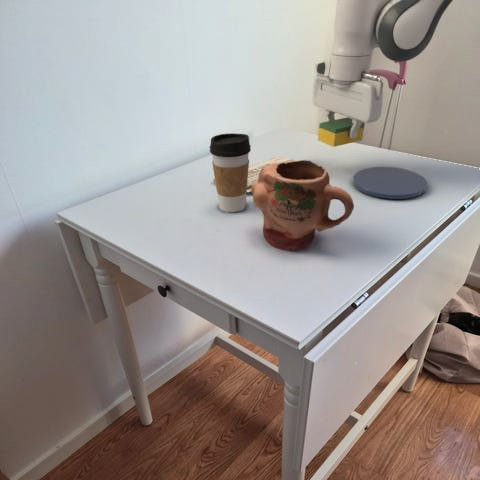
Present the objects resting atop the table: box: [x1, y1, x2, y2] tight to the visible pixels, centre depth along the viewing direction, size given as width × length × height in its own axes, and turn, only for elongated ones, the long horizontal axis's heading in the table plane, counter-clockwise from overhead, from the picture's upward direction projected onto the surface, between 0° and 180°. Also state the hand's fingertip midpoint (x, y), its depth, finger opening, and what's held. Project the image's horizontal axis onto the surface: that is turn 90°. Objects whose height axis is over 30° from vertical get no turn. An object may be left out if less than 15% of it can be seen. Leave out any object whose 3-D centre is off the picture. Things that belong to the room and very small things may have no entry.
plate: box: [352, 166, 428, 200], centre depth 101 cm, size 17×17×1 cm
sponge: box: [317, 116, 366, 148], centre depth 103 cm, size 9×6×4 cm, turn 121°
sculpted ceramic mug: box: [251, 159, 355, 252], centre depth 78 cm, size 20×12×14 cm, turn 64°
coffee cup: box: [209, 133, 252, 213], centre depth 90 cm, size 8×8×15 cm
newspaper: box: [213, 156, 298, 193], centre depth 106 cm, size 23×12×2 cm, turn 129°
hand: (341, 133), depth 103 cm, fingers closed on sponge, 6 cm apart
